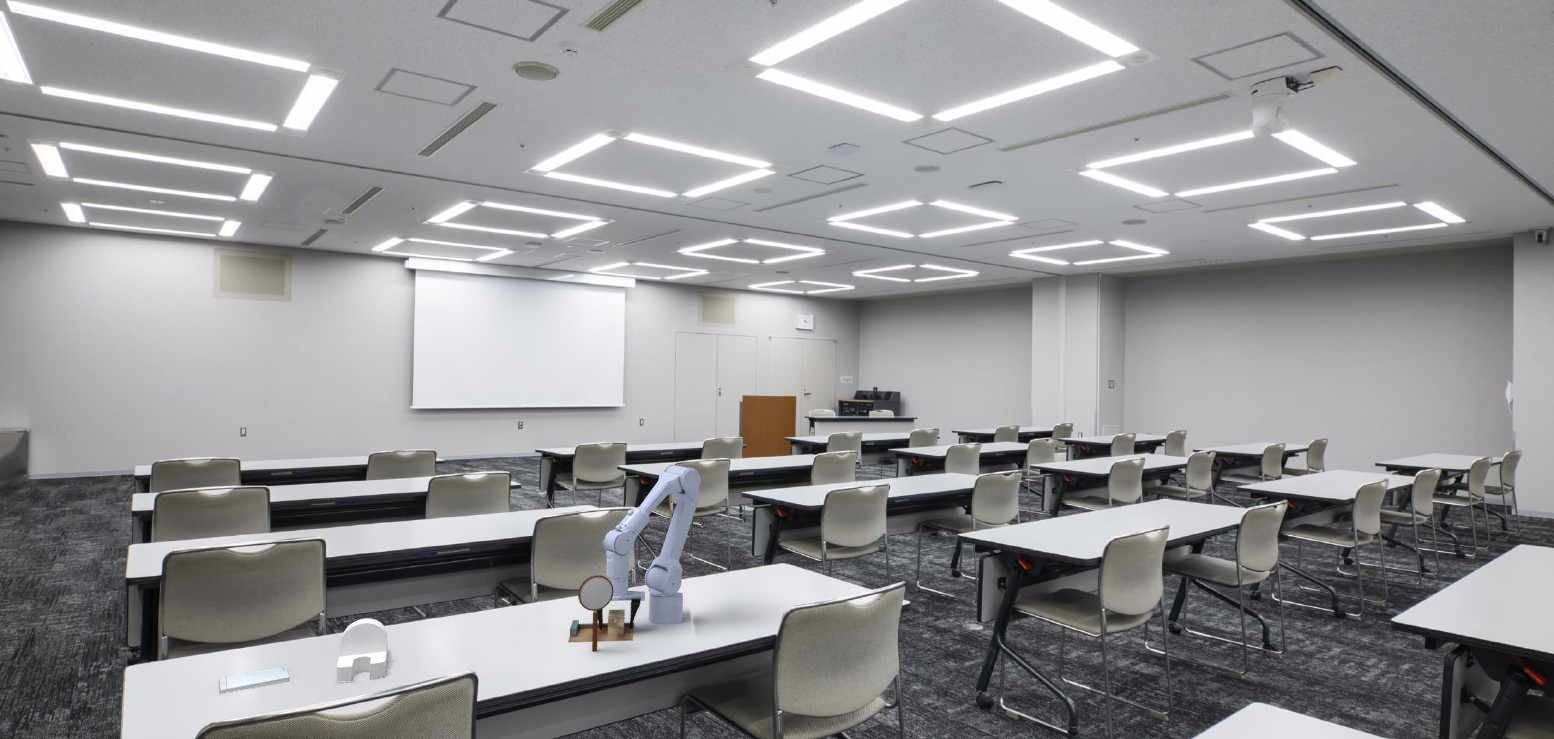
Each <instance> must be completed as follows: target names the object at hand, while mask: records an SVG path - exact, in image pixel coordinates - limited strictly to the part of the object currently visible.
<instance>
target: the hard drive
mask: <svg viewBox="0 0 1554 739" xmlns="http://www.w3.org/2000/svg"><path fill="white" fill-rule="evenodd" d="M288 682H290V675H289V671H288V667H287V665H283V666H276V667H270V668H266V669H265V668H264V669H259V670H255V671H254V670H253V671H248V672H243V673H238V674H237V673H235V674H232V675H226V676H222V677H219V683H220V684H219V694H220V693H225V692H230V693H234V692H233V691H236V692H238V691H237V690H241V691H245V690H244V689H246V690H249V689H248V688H252V689H256V688H255V687H257V688H262V687H266V685H267V686H272V685H277V684H282V683H288ZM225 694H226V693H225Z"/></svg>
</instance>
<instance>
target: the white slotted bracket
mask: <svg viewBox="0 0 1554 739" xmlns="http://www.w3.org/2000/svg"><path fill="white" fill-rule="evenodd" d="M388 643H389V637H388V630H387V629H386V627H385V626H384V624H383V623H382V622H380V621H379V620H377V619H374V618H360V619H358V620H355V621H354V622H352V623H350V624H349V625H348V626H347V627H346V629H344V631H343V633H342V636H341V639H340V643H339V653H338V654H339V656H338V661H337V664H336V682H337V681H339V682H341V681H353V676H354V675H356V674H358V673H364V672H368V673H369V680H372V679H371V678H377V679H381V678H380V677H382V676H384V677H385V676H386V672H387V659H388V653H389V650H388V648H389V647H388V646H389V644H388ZM385 671H386V672H385ZM382 678H383V677H382Z"/></svg>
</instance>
